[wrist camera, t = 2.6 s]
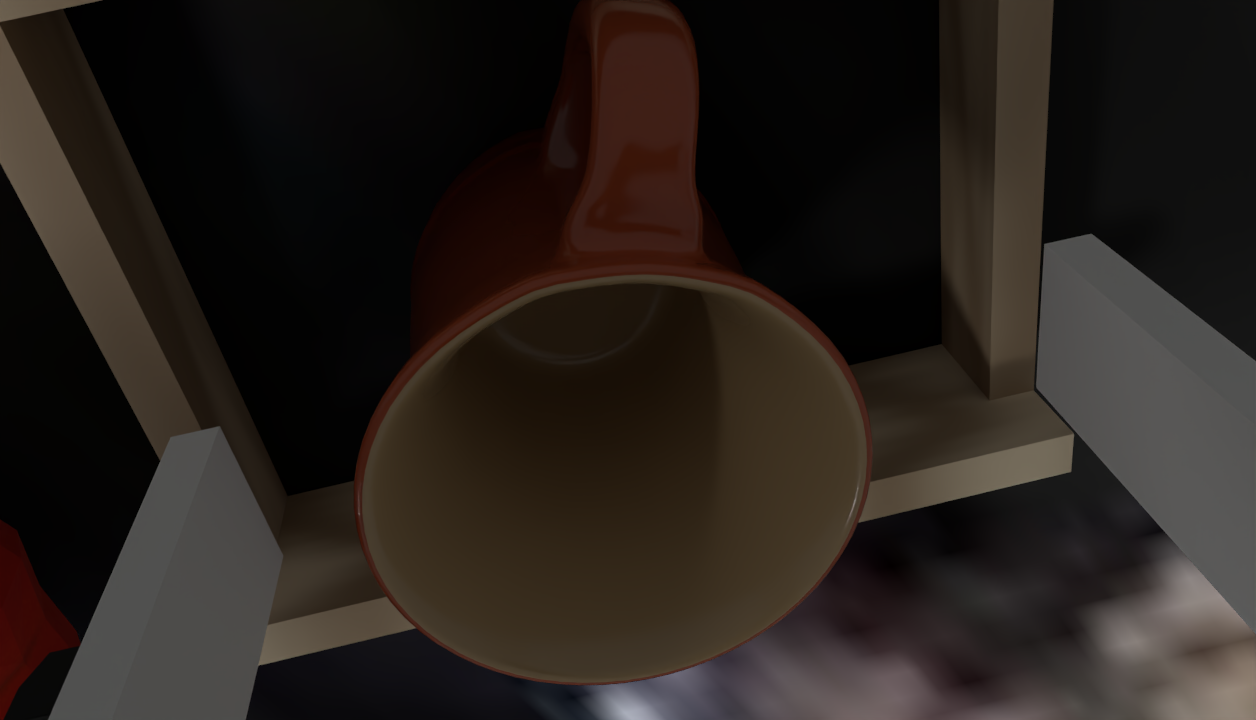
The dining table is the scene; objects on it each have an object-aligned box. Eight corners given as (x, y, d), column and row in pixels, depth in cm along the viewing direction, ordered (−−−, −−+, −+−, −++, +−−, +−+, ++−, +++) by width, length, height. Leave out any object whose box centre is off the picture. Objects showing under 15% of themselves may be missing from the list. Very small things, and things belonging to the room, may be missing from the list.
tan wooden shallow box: (261, 537, 29) (227, 672, 24) (-41, -72, 20) (-174, -27, 16) (981, 369, 29) (1070, 472, 25) (992, -287, 21) (1132, -300, 16)
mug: (709, 395, 28) (823, 675, 20) (393, 397, 27) (365, 701, 18) (777, -57, 22) (985, 56, 14) (376, -88, 21) (322, 18, 12)
